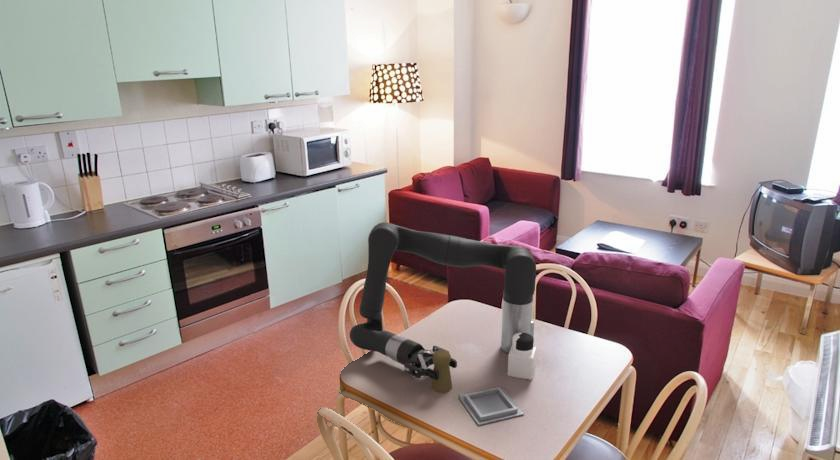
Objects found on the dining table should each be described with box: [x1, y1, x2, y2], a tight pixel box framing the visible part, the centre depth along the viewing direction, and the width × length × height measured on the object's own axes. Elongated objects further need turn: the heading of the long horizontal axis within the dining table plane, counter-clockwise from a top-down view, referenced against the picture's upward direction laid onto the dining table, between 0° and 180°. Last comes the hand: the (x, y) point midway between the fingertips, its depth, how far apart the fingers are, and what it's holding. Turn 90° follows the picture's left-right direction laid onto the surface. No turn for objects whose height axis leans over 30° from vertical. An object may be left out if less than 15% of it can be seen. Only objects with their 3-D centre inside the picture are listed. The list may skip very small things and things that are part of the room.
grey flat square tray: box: [458, 386, 525, 427], centre depth 148 cm, size 13×13×1 cm
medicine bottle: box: [507, 333, 537, 381], centre depth 162 cm, size 7×7×12 cm
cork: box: [430, 349, 453, 394], centre depth 156 cm, size 6×6×11 cm
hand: (447, 370), depth 154 cm, fingers open, 7 cm apart
